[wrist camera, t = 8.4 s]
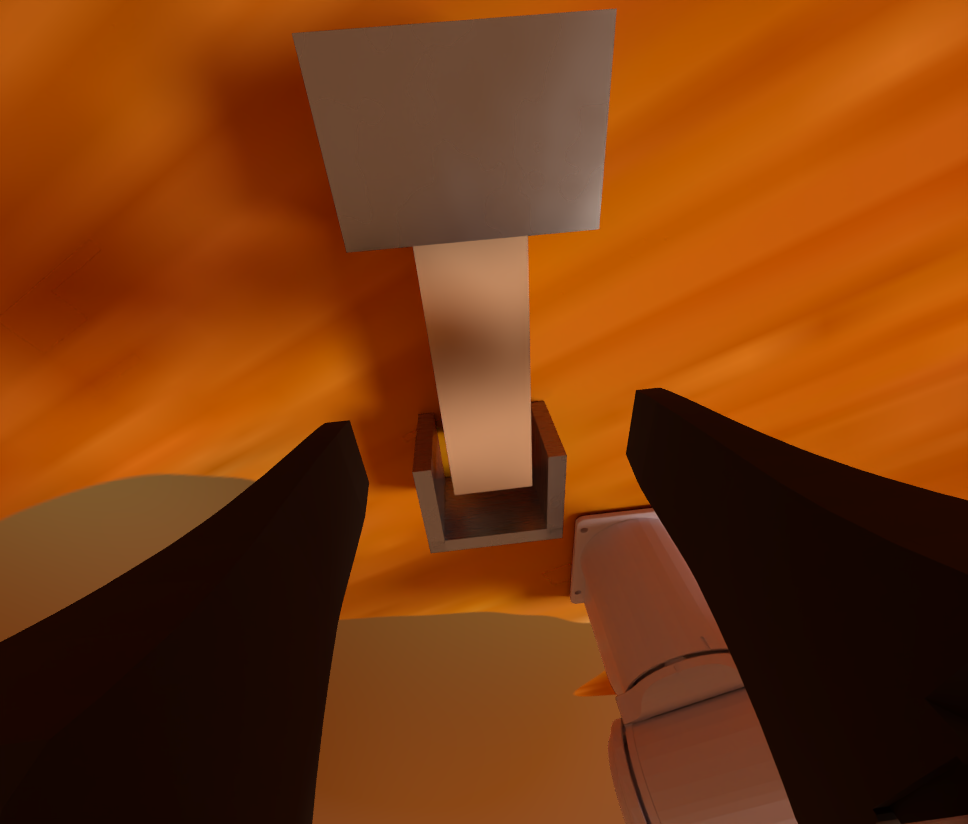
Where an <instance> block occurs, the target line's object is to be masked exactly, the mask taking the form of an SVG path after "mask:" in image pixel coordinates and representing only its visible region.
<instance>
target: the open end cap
mask: <svg viewBox="0 0 968 824" xmlns="http://www.w3.org/2000/svg"><path fill="white" fill-rule="evenodd" d="M531 443H532V486H529V487H520V488H512V489H503V490H495V491H486V492H478V493H469V494H461V495H455V494H454V488H453V482H452V477H447V478H445V475H444V470H443V464H442V458H441V452H440V446H439V440H438V434H437V429H436V423H435V417H434V413H427V414H419V416H418V425H417V434H416V444H415V453H414V462H413V471H412V473H413V477H414V482H415V486H416V490H417V495H418V499H419V503H420V508H421V512H422V517H423V521H424V525H425V530H426V534H427V538H428V543H429V547H430V551H431V553H437V552H446V551H454V550H463V549H471V548H480V547H488V546H497V545H505V544H514V543H522V542H531V541H539V540H548V539H556V538H562V534H563V516H564V497H565V479H566V460H567V455H566V452H565V450H564V447H563V445H562V443H561V440H560V438H559V435H558V433H557V431H556V428H555V426H554V423H553V421H552V419H551V416H550V414H549V411H548V409H547V407H546V404H545V402H544V401H540V402H531Z"/></svg>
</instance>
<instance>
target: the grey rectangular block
mask: <svg viewBox="0 0 968 824" xmlns="http://www.w3.org/2000/svg"><path fill="white" fill-rule="evenodd" d="M615 21H616V9H606V10H593V11H579V12H566V13H553V14H540V15H527V16H513V17H500V18H487V19H474V20H461V21H448V22H434V23H421V24H408V25H395V26H382V27H368V28H355V29H342V30H329V31H316V32H303V33H292V35H293V40H294V44H295V48H296V52H297V56H298V60H299V64H300V68H301V72H302V76H303V80H304V84H305V88H306V92H307V96H308V100H309V104H310V108H311V112H312V116H313V120H314V124H315V128H316V132H317V136H318V140H319V144H320V148H321V152H322V156H323V160H324V164H325V168H326V172H327V176H328V180H329V184H330V188H331V192H332V196H333V200H334V204H335V208H336V212H337V216H338V220H339V224H340V228H341V232H342V236H343V240H344V244H345V248H346V252H347V253H348V252H359V251H370V250H380V249H391V248H402V247H412V246H423V245H434V244H445V243H455V242H466V241H477V240H487V239H498V238H509V237H520V236H530V235H541V234H552V233H562V232H573V231H584V230H595V229H599V223H600V210H601V198H602V185H603V172H604V160H605V147H606V135H607V122H608V110H609V97H610V84H611V72H612V59H613V47H614V34H615Z"/></svg>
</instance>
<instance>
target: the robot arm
mask: <svg viewBox="0 0 968 824" xmlns="http://www.w3.org/2000/svg"><path fill="white" fill-rule="evenodd" d="M626 455H627V458H628V460H629V463H630V465H631V467H632V470H633V472H634V475H635V477H636V479H637V481H638V483H639V486H640V488H641V489H642V491H643V493H644V495H645V496H646V498H647V500H648V501H649V503H650V505H651V506H652V508H647V509H638V510H630V511H621V512H613V513H604V514H595V515H587V516H581V517H579V518H578V519H577V520H576V523H575V536H574V548H573V561H572V573H571V586H570V600H571V602H572V603H575V604H577V603H584V604H585V607H586V610H587V613H588V616H589V619H590V623H591V626H592V629H593V632H594V635H595V638H596V641H597V645H598V648H599V651H600V654H601V657H602V660H603V664H604V667H605V670H606V673H607V676H608V679H609V681H610V684H611V686H612V688H613V690H614V691H615V693H616V694H617V696H616V701H617V704H618V708H619V711H620V714H621V717H622V718H619V719H616V720H614V721H613V723H612V726H611V734H610V738H609V741H608V754H609V763H610V769H611V774H612V779H613V783H614V787H615V791H616V794H617V798H618V801H619V805H620V808H621V811H622V814H623V818H624V820H625V823H626V824H968V500H964V499H961V498H957V497H953V496H949V495H945V494H941V493H937V492H934V491H930V490H927V489H923V488H920V487H916V486H913V485H909V484H906V483H902V482H899V481H895V480H892V479H888V478H885V477H882V476H878V475H875V474H872V473H869V472H865V471H862V470H859V469H856V468H853V467H850V466H848V465H845V464H842V463H839V462H836V461H833V460H830V459H827V458H824V457H821V456H819V455H816V454H813V453H810V452H808V451H805V450H802V449H800V448H797V447H795V446H792V445H790V444H787V443H785V442H783V441H780V440H778V439H775V438H773V437H770V436H768V435H766V434H763V433H761V432H759V431H756V430H754V429H752V428H749V427H747V426H745V425H743V424H740V423H738V422H736V421H734V420H732V419H730V418H727V417H725V416H723V415H721V414H719V413H717V412H714V411H712V410H710V409H708V408H706V407H704V406H702V405H700V404H697V403H695V402H693V401H691V400H689V399H687V398H684V397H682V396H680V395H678V394H675V393H673V392H670V391H668V390H665V389H662V388H652V389H643V390H636V394H635V400H634V406H633V413H632V419H631V425H630V432H629V438H628V444H627V451H626ZM368 487H369V481H368V478H367V474H366V471H365V468H364V465H363V462H362V458H361V455H360V452H359V449H358V446H357V442H356V439H355V436H354V433H353V430H352V426H351V423H350V420H349V421H339V422H330V423H324V424H323V425H322V426H320V427H319V428H318V429H316V430H315V431H314V432H313V433H312V434H310V435H309V436H308V437H307V438H306V439H305V440H304V441H302V442H301V443H300V444H299V445H298V446H297V447H296V448H294V449H293V450H292V451H291V452H290V453H289V454H288V455H286V456H285V457H284V458H283V459H282V460H281V461H280V462H278V463H277V464H276V465H275V466H274V467H273V468H271V469H270V470H269V471H268V472H267V473H266V474H265V475H263V476H262V477H261V478H260V479H258V480H257V481H256V482H255V483H253V484H252V485H251V486H250V487H248V488H247V489H246V490H245V491H244V492H243V493H241V494H240V495H239V496H237V497H236V498H235V499H234V500H232V501H231V502H230V503H229V504H227V505H226V506H225V507H223V508H222V509H221V510H219V511H218V512H217V513H215V514H214V515H213V516H211V517H210V518H209V519H207V520H206V521H204V522H203V523H202V524H200V525H199V526H197V527H196V528H194V529H193V530H191V531H190V532H189V533H187V534H186V535H184V536H183V537H181V538H180V539H178V540H177V541H176V542H174V543H172V544H171V545H170V546H168V547H166V548H165V549H163V550H162V551H160V552H158V553H157V554H155V555H154V556H152V557H150V558H149V559H147V560H145V561H144V562H142V563H141V564H139V565H137V566H136V567H134V568H132V569H131V570H129V571H128V572H126V573H124V574H123V575H121V576H119V577H118V578H116V579H114V580H113V581H111V582H110V583H108V584H107V585H105V586H103V587H101V588H99V589H98V590H96V591H94V592H92V593H91V594H89V595H87V596H85V597H84V598H82V599H80V600H78V601H76V602H75V603H73V604H71V605H69V606H68V607H66V608H64V609H62V610H60V611H58V612H57V613H55V614H53V615H51V616H49V617H47V618H45V619H43V620H42V621H40V622H38V623H36V624H34V625H32V626H30V627H29V628H27V629H25V630H23V631H21V632H19V633H17V634H16V635H13V636H11V637H10V638H7V639H6V640H4V641H2V642H0V824H312V820H313V808H314V799H315V788H316V778H317V770H318V761H319V752H320V744H321V736H322V727H323V719H324V712H325V704H326V697H327V690H328V683H329V676H330V669H331V662H332V656H333V650H334V644H335V638H336V631H337V625H338V620H339V616H340V611H341V607H342V602H343V599H344V595H345V591H346V587H347V584H348V580H349V576H350V572H351V569H352V565H353V561H354V557H355V554H356V550H357V546H358V542H359V538H360V535H361V531H362V527H363V523H364V519H365V512H366V505H367V496H368Z"/></svg>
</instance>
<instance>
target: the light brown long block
mask: <svg viewBox="0 0 968 824" xmlns="http://www.w3.org/2000/svg"><path fill="white" fill-rule="evenodd" d="M413 250H414V256H415V262H416V268H417V274H418V280H419V286H420V292H421V298H422V304H423V310H424V316H425V322H426V328H427V334H428V340H429V346H430V352H431V357H432V363H433V369H434V375H435V381H436V387H437V393H438V399H439V405H440V411H441V417H442V423H443V429H444V435H445V441H446V447H447V453H448V459H449V464H450V470H451V476H452V482H453V488H454V494H455V495H461V494H469V493H478V492H486V491H495V490H503V489H512V488H520V487H529V486H532V443H531V387H530V331H529V276H528V236H520V237H509V238H498V239H487V240H477V241H466V242H455V243H445V244H434V245H423V246H413Z"/></svg>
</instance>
